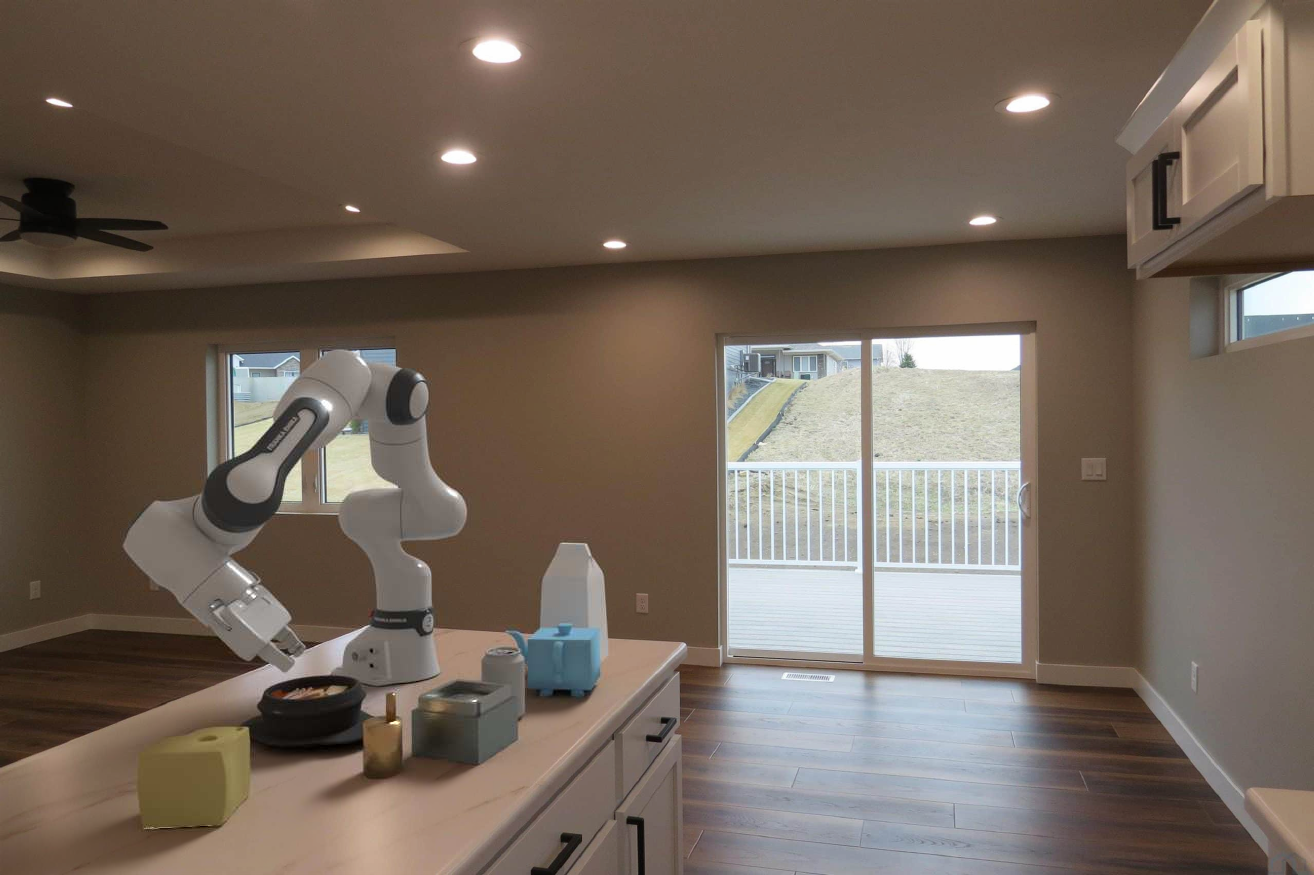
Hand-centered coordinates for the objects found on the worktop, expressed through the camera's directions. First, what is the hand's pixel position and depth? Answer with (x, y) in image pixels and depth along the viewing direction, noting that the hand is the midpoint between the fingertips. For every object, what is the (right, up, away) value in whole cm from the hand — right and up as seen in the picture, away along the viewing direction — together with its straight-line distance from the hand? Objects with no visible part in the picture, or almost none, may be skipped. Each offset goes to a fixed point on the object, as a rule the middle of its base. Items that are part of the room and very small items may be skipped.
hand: (296, 660), depth 128 cm
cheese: (-8, -18, -11) cm, 23 cm away
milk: (+34, -17, +66) cm, 76 cm away
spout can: (+12, -17, +3) cm, 21 cm away
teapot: (+31, -17, +44) cm, 57 cm away
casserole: (-5, -18, +18) cm, 26 cm away
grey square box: (+22, -17, +13) cm, 31 cm away
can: (+25, -17, +28) cm, 41 cm away
